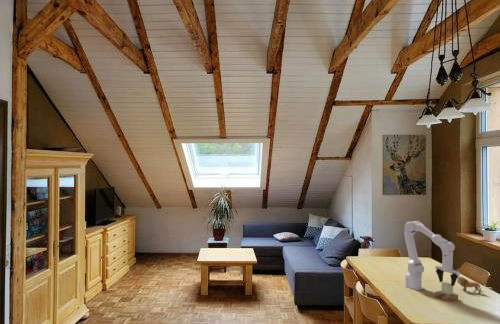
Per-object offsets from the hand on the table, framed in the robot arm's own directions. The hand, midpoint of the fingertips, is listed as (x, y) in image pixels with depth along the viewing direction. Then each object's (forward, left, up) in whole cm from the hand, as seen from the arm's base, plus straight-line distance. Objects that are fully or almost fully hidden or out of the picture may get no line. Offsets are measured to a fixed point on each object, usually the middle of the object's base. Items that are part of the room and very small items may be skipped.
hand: (446, 283), depth 229 cm
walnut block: (0, 0, -9) cm, 9 cm away
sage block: (0, 0, -6) cm, 6 cm away
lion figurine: (0, +24, -9) cm, 26 cm away
